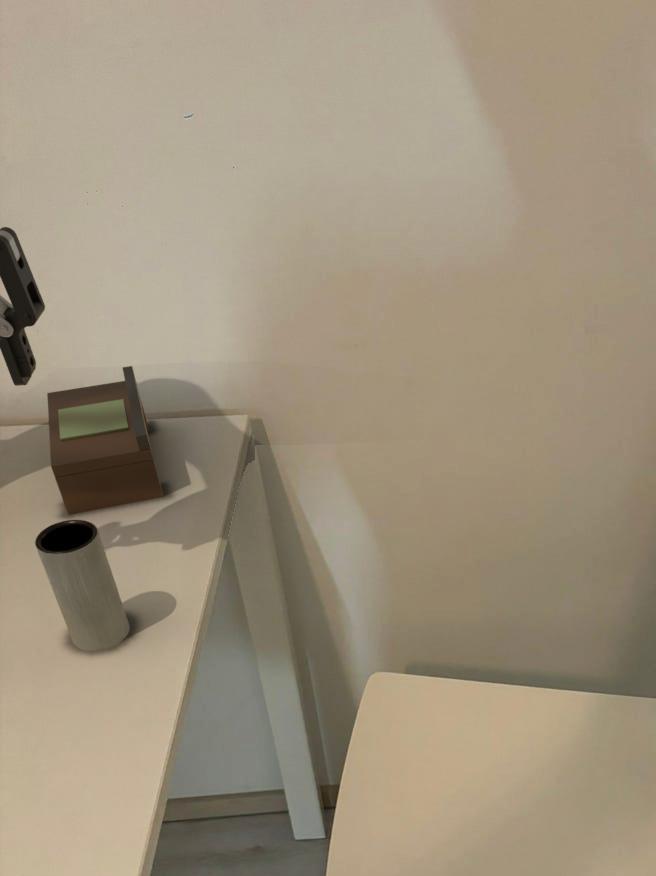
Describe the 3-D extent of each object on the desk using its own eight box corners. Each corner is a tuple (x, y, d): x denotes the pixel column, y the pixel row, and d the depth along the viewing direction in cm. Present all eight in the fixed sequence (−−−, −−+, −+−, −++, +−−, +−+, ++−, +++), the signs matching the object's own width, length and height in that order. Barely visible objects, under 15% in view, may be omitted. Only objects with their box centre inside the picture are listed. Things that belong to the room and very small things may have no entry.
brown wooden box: (64, 443, 102) (42, 379, 97) (148, 429, 104) (132, 365, 100) (70, 520, 91) (45, 452, 86) (164, 502, 93) (146, 434, 88)
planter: (65, 636, 78) (25, 534, 71) (116, 613, 80) (82, 512, 73) (88, 664, 75) (49, 560, 68) (141, 639, 77) (107, 536, 71)
